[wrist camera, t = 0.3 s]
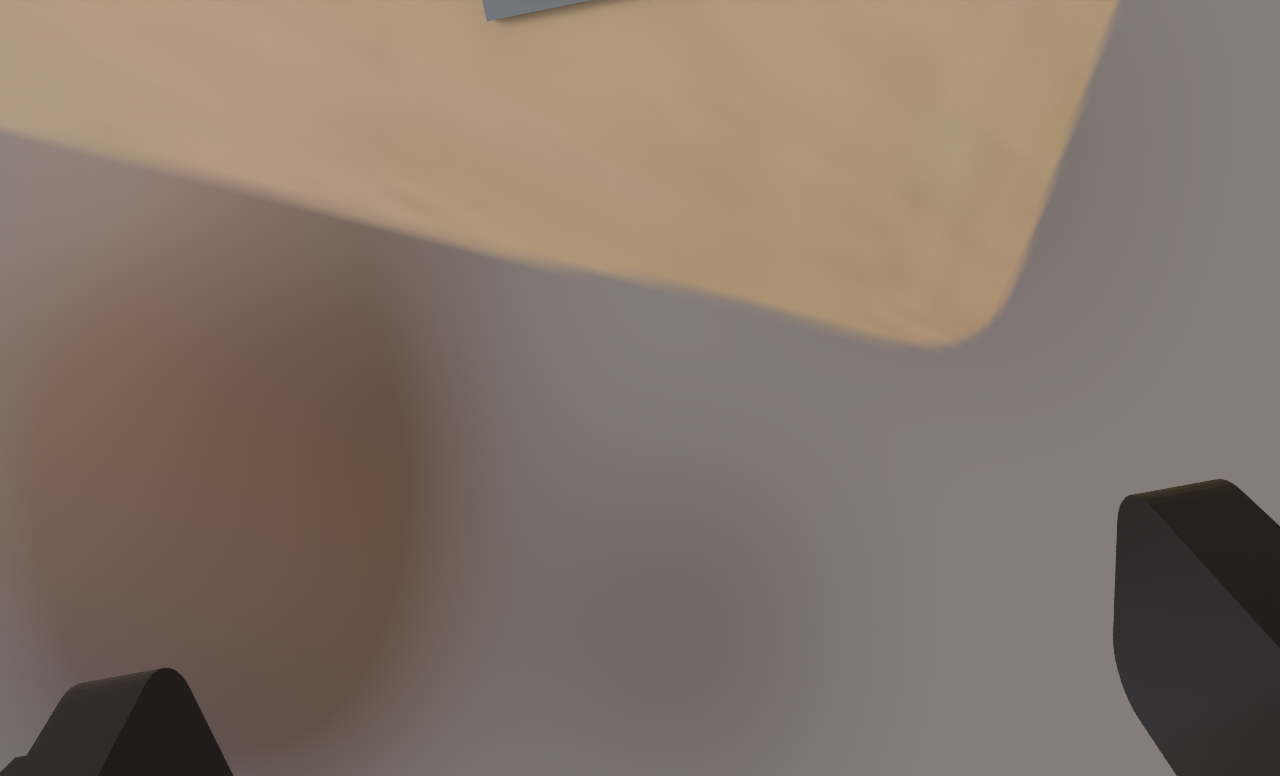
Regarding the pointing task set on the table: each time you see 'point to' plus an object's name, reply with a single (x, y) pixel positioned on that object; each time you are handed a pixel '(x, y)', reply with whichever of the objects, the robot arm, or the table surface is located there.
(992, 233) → the table surface
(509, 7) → the mat
